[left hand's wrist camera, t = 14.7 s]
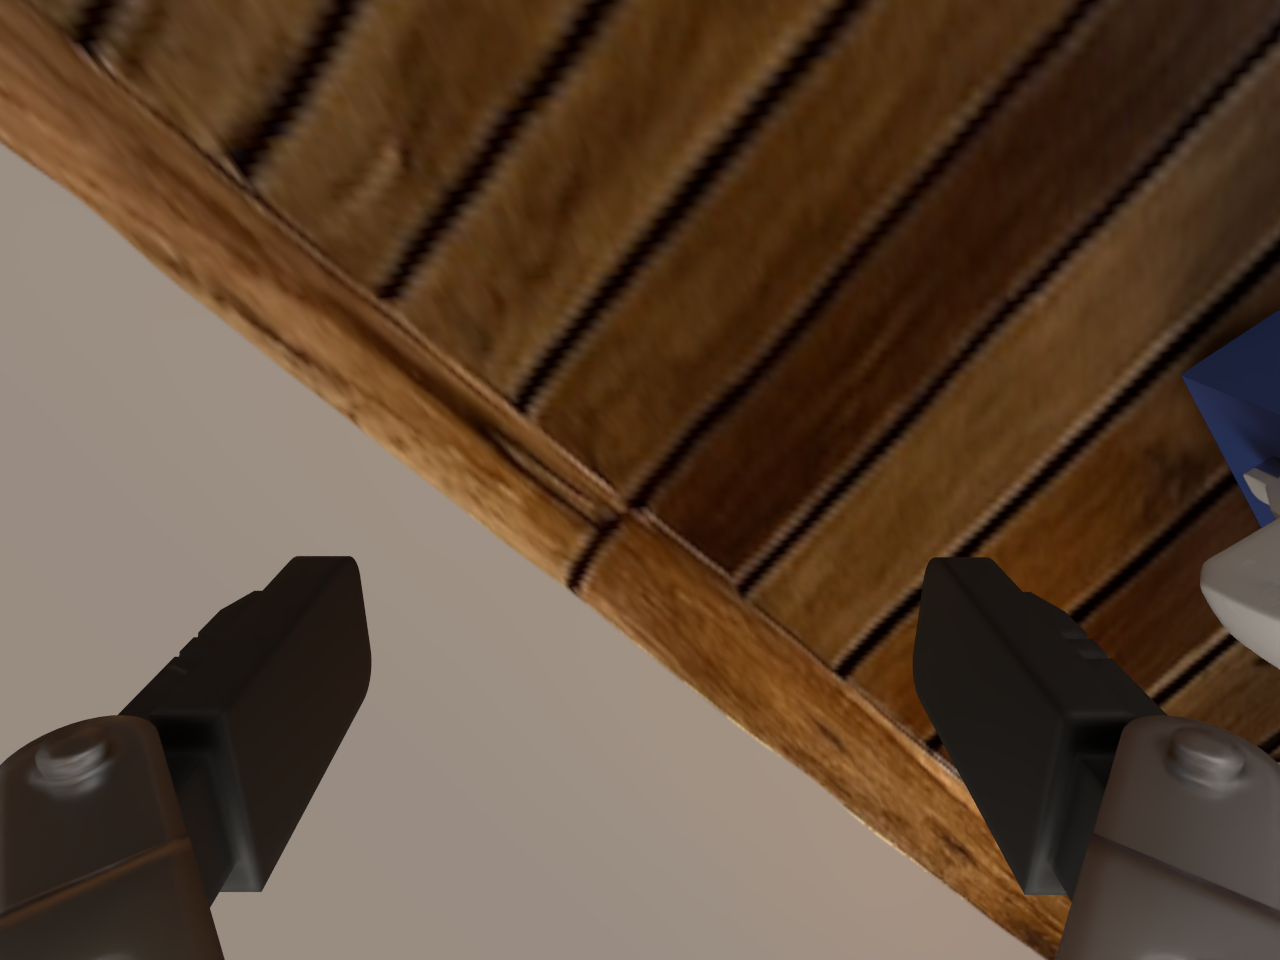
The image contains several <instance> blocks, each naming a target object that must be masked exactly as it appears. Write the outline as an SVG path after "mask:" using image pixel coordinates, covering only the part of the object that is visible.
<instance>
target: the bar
mask: <svg viewBox="0 0 1280 960" xmlns="http://www.w3.org/2000/svg"><path fill="white" fill-rule="evenodd" d="M1181 376H1182V378H1183V380H1184V382H1185V384H1186V386H1187V388H1188V390H1189V391H1190V393H1191V395H1192V397H1193V399H1194V401H1195V403H1196V405H1197V407H1198V408H1199V410H1200V412H1201V414H1202V416H1203V418H1204V420H1205V422H1206V424H1207V426H1208V427H1209V429H1210V431H1211V433H1212V435H1213V437H1214V439H1215V441H1216V443H1217V445H1218V446H1219V448H1220V450H1221V452H1222V454H1223V456H1224V458H1225V460H1226V462H1227V463H1228V465H1229V467H1230V469H1231V471H1232V473H1233V475H1234V477H1235V479H1236V481H1237V482H1238V484H1239V486H1240V488H1241V490H1242V492H1243V494H1244V496H1245V498H1246V500H1247V501H1248V503H1249V505H1250V507H1251V509H1252V511H1253V513H1254V515H1255V517H1256V518H1257V520H1258V522H1259V524H1260V526H1261V528H1262V527H1264V526H1266V525H1268V524H1269V523H1271V522H1273V521H1274V520H1276V518H1275V517H1274V515H1273V513H1272V511H1271V509H1270V505H1268V504H1266V503H1264V502H1262V501H1261V500H1259V499H1258V498H1257V497H1256V496H1255V495H1254V494H1253V493H1252V492H1251V490H1250V488H1249V486H1248V484H1247V482H1246V481H1245V479H1244V477H1243V474H1244V473H1246V472H1247V471H1249V470H1251V469H1252V468H1254V467H1255V466H1257V465H1259V464H1261V463H1262V462H1264V461H1266V460H1267V459H1269V458H1271V457H1277V458H1279V459H1280V310H1278V311H1277V312H1275V313H1273V314H1272V315H1270V316H1269V317H1267V318H1266V319H1264V320H1263V321H1261V322H1260V323H1258V324H1257V325H1255V326H1254V327H1252V328H1251V329H1249V330H1248V331H1246V332H1245V333H1243V334H1242V335H1240V336H1239V337H1237V338H1235V339H1234V340H1232V341H1231V342H1229V343H1228V344H1226V345H1225V346H1223V347H1222V348H1220V349H1219V350H1217V351H1216V352H1214V353H1213V354H1211V355H1210V356H1208V357H1207V358H1205V359H1204V360H1202V361H1201V362H1199V363H1198V364H1196V365H1194V366H1193V367H1191V368H1190V369H1188V370H1187V371H1185V372H1184V373H1182V374H1181Z"/></svg>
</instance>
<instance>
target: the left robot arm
mask: <svg viewBox="0 0 1280 960" xmlns="http://www.w3.org/2000/svg"><path fill="white" fill-rule="evenodd" d="M370 675H371V649H370V642H369V635H368V628H367V621H366V614H365V607H364V600H363V593H362V586H361V579H360V573H359V569H358V565H357V563H356V561H355V560H354V559H353V558H352V557H350V556H297V557H294V558H293V559H292V560H290V562H289V563H288V564H287V565H286V566H285V567H284V568H283V569H282V570H281V571H280V572H279V573H278V575H277V576H276V577H275V578H274V579H273V580H272V581H271V582H270V583H269V584H268V586H266V588H265V589H264V590H263V591H253V592H252V593H250V594H248V595H246V596H245V597H243V598H241V599H239V600H237V601H236V602H234V603H232V604H230V605H229V606H227V607H225V608H223V609H222V610H220V611H219V612H218V613H217V614H216V615H215V616H214V617H213V618H212V619H211V620H210V621H209V622H208V623H207V624H206V625H205V626H204V627H203V628H202V629H201V630H200V631H199V633H198V637H194V638H193V639H192V640H191V641H190V642H189V643H188V644H187V645H186V646H185V647H184V648H183V649H182V650H181V651H180V655H179V657H174V658H173V659H172V660H171V661H170V662H169V663H168V664H167V665H166V666H165V667H164V668H163V669H162V670H161V671H160V672H159V673H158V674H157V675H156V676H155V677H154V679H152V680H151V682H150V683H149V684H148V685H147V686H146V687H145V688H144V689H143V690H142V691H141V692H140V693H139V694H138V695H137V696H136V697H135V698H134V699H133V700H132V701H131V702H130V703H129V704H128V705H127V706H126V707H125V708H124V709H123V710H122V711H121V712H120V713H119V714H118V715H114V716H104V717H97V718H92V719H88V720H84V721H80V722H76V723H73V724H70V725H67V726H64V727H62V728H59V729H56V730H54V731H52V732H50V733H47V734H45V735H43V736H41V737H39V738H37V739H36V740H34V741H32V742H30V743H28V744H27V745H25V746H24V747H22V748H21V749H19V750H18V751H16V752H15V753H14V754H12V755H11V756H10V757H9V758H7V759H6V760H5V761H4V762H3V763H2V764H1V765H0V960H225V959H224V956H223V952H222V949H221V945H220V942H219V938H218V935H217V931H216V928H215V925H214V921H213V918H212V914H211V911H210V907H211V905H212V903H213V902H214V900H215V898H216V897H217V895H218V893H219V892H261V891H262V890H263V888H264V886H265V884H266V882H267V880H268V878H269V877H270V875H271V873H272V871H273V869H274V867H275V865H276V864H277V862H278V860H279V858H280V856H281V854H282V852H283V850H284V849H285V847H286V845H287V843H288V841H289V839H290V837H291V835H292V833H293V832H294V830H295V828H296V826H297V824H298V822H299V820H300V819H301V817H302V815H303V813H304V811H305V809H306V807H307V805H308V804H309V802H310V800H311V798H312V796H313V794H314V792H315V790H316V789H317V787H318V785H319V783H320V781H321V779H322V777H323V775H324V774H325V772H326V770H327V768H328V766H329V764H330V762H331V760H332V758H333V757H334V755H335V753H336V751H337V749H338V747H339V745H340V743H341V742H342V740H343V738H344V736H345V734H346V732H347V730H348V729H349V727H350V725H351V723H352V721H353V719H354V717H355V715H356V714H357V712H358V710H359V708H360V706H361V704H362V702H363V700H364V698H365V696H366V693H367V690H368V686H369V682H370ZM913 676H914V682H915V687H916V691H917V694H918V697H919V699H920V701H921V703H922V705H923V707H924V709H925V711H926V713H927V715H928V716H929V718H930V720H931V722H932V724H933V726H934V727H935V729H936V731H937V733H938V735H939V737H940V739H941V740H942V742H943V744H944V746H945V748H946V750H947V752H948V753H949V755H950V757H951V759H952V761H953V763H954V765H955V766H956V768H957V770H958V772H959V774H960V776H961V777H962V779H963V781H964V783H965V785H966V787H967V789H968V790H969V792H970V794H971V796H972V798H973V800H974V802H975V803H976V805H977V807H978V809H979V811H980V813H981V815H982V816H983V818H984V820H985V822H986V824H987V826H988V828H989V829H990V831H991V833H992V835H993V837H994V839H995V840H996V842H997V844H998V846H999V848H1000V850H1001V852H1002V853H1003V855H1004V857H1005V859H1006V861H1007V863H1008V865H1009V866H1010V868H1011V870H1012V872H1013V874H1014V876H1015V878H1016V879H1017V881H1018V883H1019V885H1020V887H1021V889H1022V891H1023V892H1024V894H1025V895H1068V897H1069V898H1070V900H1071V902H1072V904H1071V907H1070V911H1069V914H1068V918H1067V921H1066V925H1065V928H1064V931H1063V935H1062V938H1061V942H1060V945H1059V949H1058V952H1057V956H1056V959H1055V960H1280V765H1279V764H1278V763H1277V762H1276V761H1275V760H1274V759H1273V758H1272V757H1270V756H1269V755H1268V754H1266V753H1265V752H1264V751H1262V750H1261V749H1259V748H1258V747H1256V746H1255V745H1253V744H1252V743H1250V742H1248V741H1246V740H1245V739H1243V738H1241V737H1239V736H1237V735H1235V734H1233V733H1230V732H1228V731H1226V730H1224V729H1221V728H1218V727H1216V726H1213V725H1210V724H1207V723H1204V722H1200V721H1197V720H1193V719H1188V718H1183V717H1176V716H1168V715H1167V714H1166V713H1165V712H1164V711H1163V710H1162V709H1161V708H1160V707H1159V706H1158V705H1157V704H1156V703H1155V702H1154V701H1153V700H1152V699H1151V698H1150V697H1149V696H1148V695H1147V694H1146V693H1145V692H1144V691H1143V690H1142V689H1141V688H1140V687H1139V686H1138V685H1137V684H1136V683H1135V682H1134V681H1133V680H1132V679H1131V678H1130V677H1129V676H1128V675H1127V674H1126V673H1125V672H1124V671H1123V670H1122V669H1121V668H1120V667H1119V666H1118V665H1117V664H1116V663H1115V662H1114V661H1113V660H1112V659H1107V657H1106V653H1105V652H1104V651H1103V650H1102V649H1101V648H1100V647H1099V646H1098V645H1097V644H1096V643H1095V642H1094V641H1093V640H1092V639H1088V638H1087V634H1086V633H1085V631H1084V630H1083V629H1082V628H1081V627H1080V626H1079V625H1078V624H1077V623H1076V622H1075V621H1074V620H1073V619H1072V618H1071V617H1070V616H1069V615H1068V614H1067V613H1066V612H1065V611H1063V610H1061V609H1059V608H1058V607H1056V606H1054V605H1052V604H1050V603H1049V602H1047V601H1045V600H1043V599H1042V598H1040V597H1038V596H1036V595H1035V594H1033V593H1031V592H1022V591H1021V590H1020V589H1019V588H1018V587H1017V586H1016V584H1015V583H1014V582H1013V581H1012V580H1011V579H1010V578H1009V577H1008V576H1007V575H1006V574H1005V573H1004V572H1003V571H1002V569H1001V568H1000V567H999V566H998V565H997V564H996V563H995V562H994V561H993V560H992V559H990V558H986V557H935V558H932V559H931V560H930V561H929V563H928V565H927V567H926V571H925V576H924V582H923V589H922V596H921V603H920V610H919V617H918V624H917V631H916V638H915V645H914V652H913Z"/></svg>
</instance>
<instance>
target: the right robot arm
mask: <svg viewBox="0 0 1280 960" xmlns="http://www.w3.org/2000/svg"><path fill="white" fill-rule="evenodd" d="M1243 477H1244V479H1245V481H1246V482H1247V484H1248V486H1249V488H1250V490H1251V492H1252V493H1253V494H1254V495H1255V496H1256V497H1257V498H1258V499H1259V500H1261V501H1262V502H1264V503H1266V504H1268V505H1270V509H1271V511H1272V513H1273V515H1274V517H1275V518H1276V520H1274V521H1273V522H1271V523H1269V524H1268V525H1266V526H1264V527H1262V528H1261V529H1259V530H1257V531H1256V532H1254V533H1252V534H1251V535H1249V536H1247V537H1246V538H1244V539H1242V540H1240V541H1239V542H1237V543H1235V544H1234V545H1232V546H1230V547H1229V548H1227V549H1225V550H1224V551H1222V552H1220V553H1218V554H1216V555H1215V556H1213V557H1211V558H1210V559H1208V560H1207V561H1206V562H1205V563H1204V564H1203V565H1202V568H1201V577H1200V587H1201V590H1202V592H1203V594H1204V596H1205V598H1206V600H1207V602H1208V603H1209V605H1210V607H1211V608H1212V610H1213V611H1214V613H1215V614H1216V616H1217V617H1218V619H1219V620H1220V622H1221V623H1222V624H1223V626H1224V627H1225V628H1226V629H1227V630H1228V631H1229V632H1230V633H1231V634H1232V635H1233V636H1234V637H1235V638H1236V639H1237V640H1239V641H1240V642H1241V643H1242V644H1244V645H1245V646H1246V647H1248V648H1249V649H1250V650H1252V651H1253V652H1255V653H1256V654H1257V655H1259V656H1260V657H1262V658H1263V659H1265V660H1266V661H1268V662H1269V663H1271V664H1272V665H1274V666H1275V667H1277V668H1279V669H1280V459H1279V458H1277V457H1271V458H1269V459H1267V460H1266V461H1264V462H1262V463H1261V464H1259V465H1257V466H1255V467H1254V468H1252V469H1251V470H1249V471H1247V472H1246V473H1244V474H1243Z"/></svg>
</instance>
